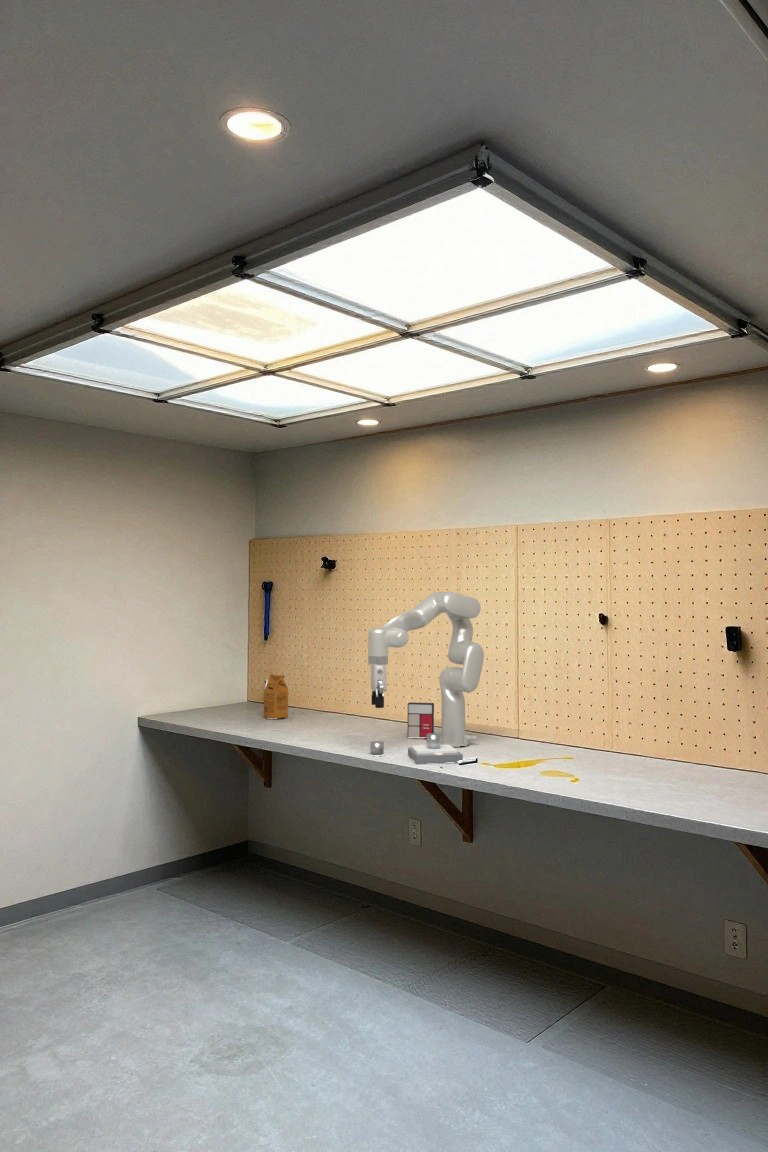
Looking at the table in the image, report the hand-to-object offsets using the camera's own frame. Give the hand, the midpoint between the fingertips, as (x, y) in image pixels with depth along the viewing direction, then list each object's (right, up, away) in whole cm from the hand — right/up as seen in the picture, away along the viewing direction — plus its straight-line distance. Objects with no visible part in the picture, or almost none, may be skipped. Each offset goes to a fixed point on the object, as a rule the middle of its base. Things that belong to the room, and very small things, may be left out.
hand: (377, 706), depth 313 cm
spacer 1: (0, -19, 0) cm, 19 cm away
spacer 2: (+21, -15, -6) cm, 26 cm away
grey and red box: (+18, -20, +39) cm, 47 cm away
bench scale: (+21, -18, -8) cm, 29 cm away
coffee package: (-52, -22, +100) cm, 115 cm away
